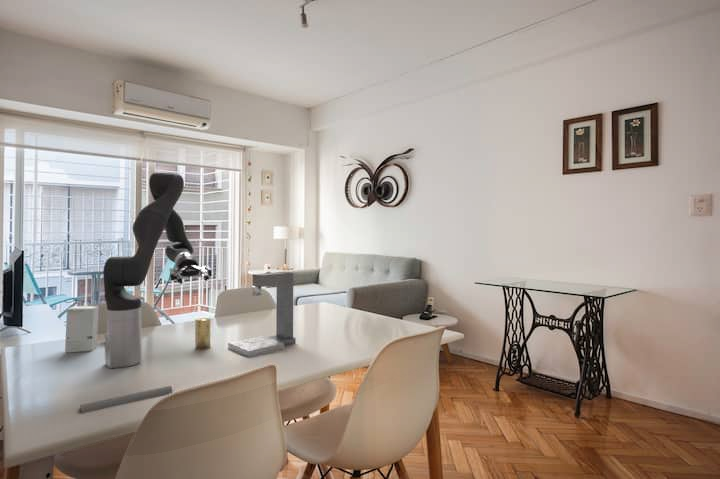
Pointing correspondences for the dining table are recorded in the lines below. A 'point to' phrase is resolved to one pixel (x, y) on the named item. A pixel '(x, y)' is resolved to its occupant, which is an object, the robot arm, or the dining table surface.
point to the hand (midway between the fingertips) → (194, 279)
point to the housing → (202, 333)
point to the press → (282, 316)
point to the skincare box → (81, 328)
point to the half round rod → (125, 399)
